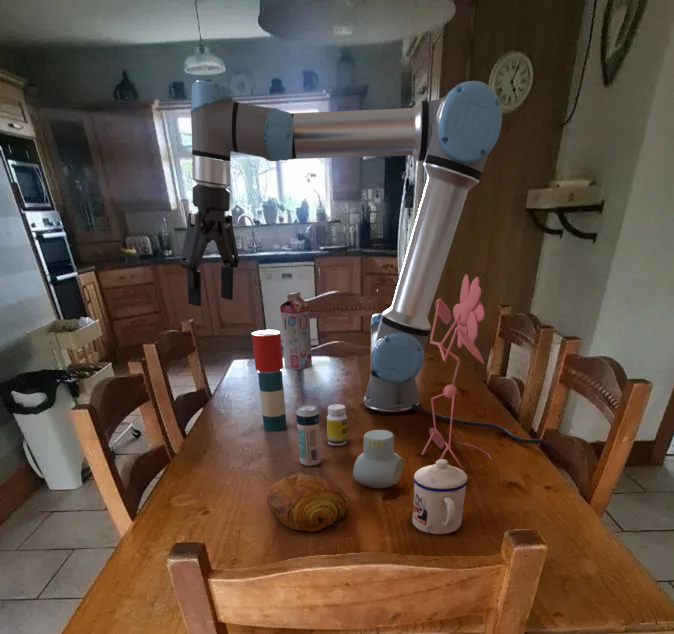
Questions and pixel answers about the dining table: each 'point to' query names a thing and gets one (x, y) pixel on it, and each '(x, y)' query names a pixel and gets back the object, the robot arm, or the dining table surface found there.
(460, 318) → the figurine
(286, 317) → the juice carton
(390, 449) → the air freshener
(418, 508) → the teacup with lid
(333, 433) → the supplement bottle
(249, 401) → the dining table surface
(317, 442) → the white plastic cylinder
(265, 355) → the cap
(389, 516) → the dining table surface
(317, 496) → the croissant
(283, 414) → the spray can
